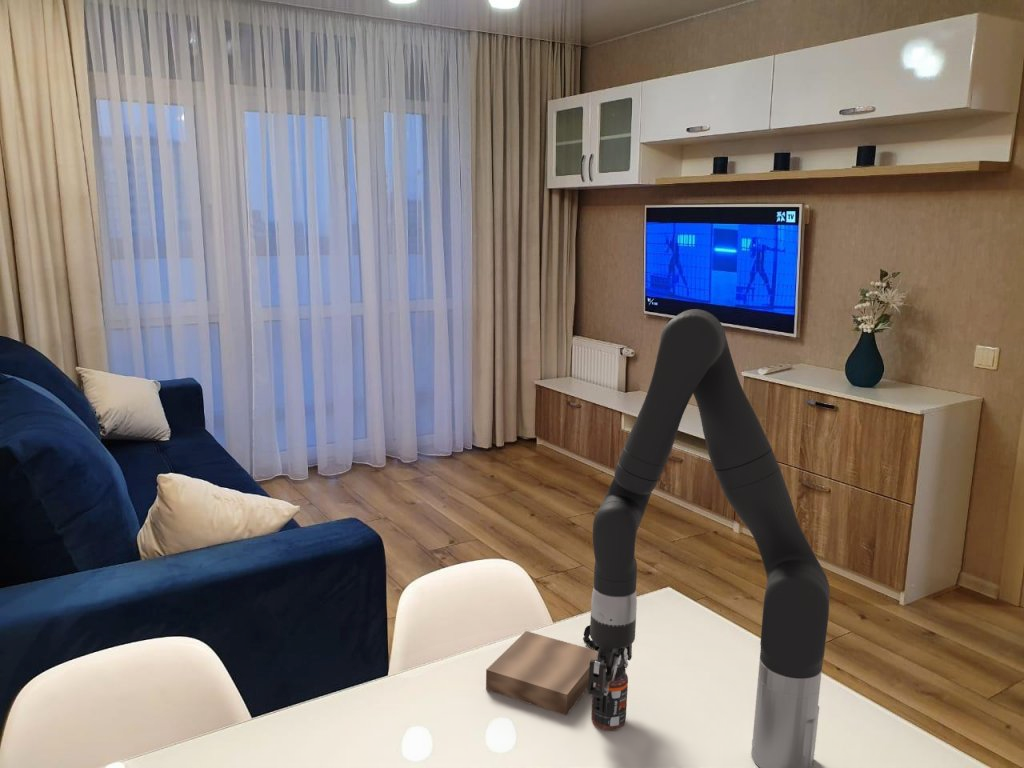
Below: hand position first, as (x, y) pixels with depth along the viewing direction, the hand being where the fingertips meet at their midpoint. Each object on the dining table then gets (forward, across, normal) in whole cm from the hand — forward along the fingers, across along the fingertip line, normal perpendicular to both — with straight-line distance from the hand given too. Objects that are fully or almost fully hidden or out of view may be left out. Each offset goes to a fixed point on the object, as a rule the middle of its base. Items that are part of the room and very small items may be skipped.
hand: (609, 699), depth 140 cm
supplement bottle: (+4, 0, 0) cm, 4 cm away
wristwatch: (+4, +22, +11) cm, 25 cm away
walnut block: (+4, +6, +15) cm, 17 cm away
